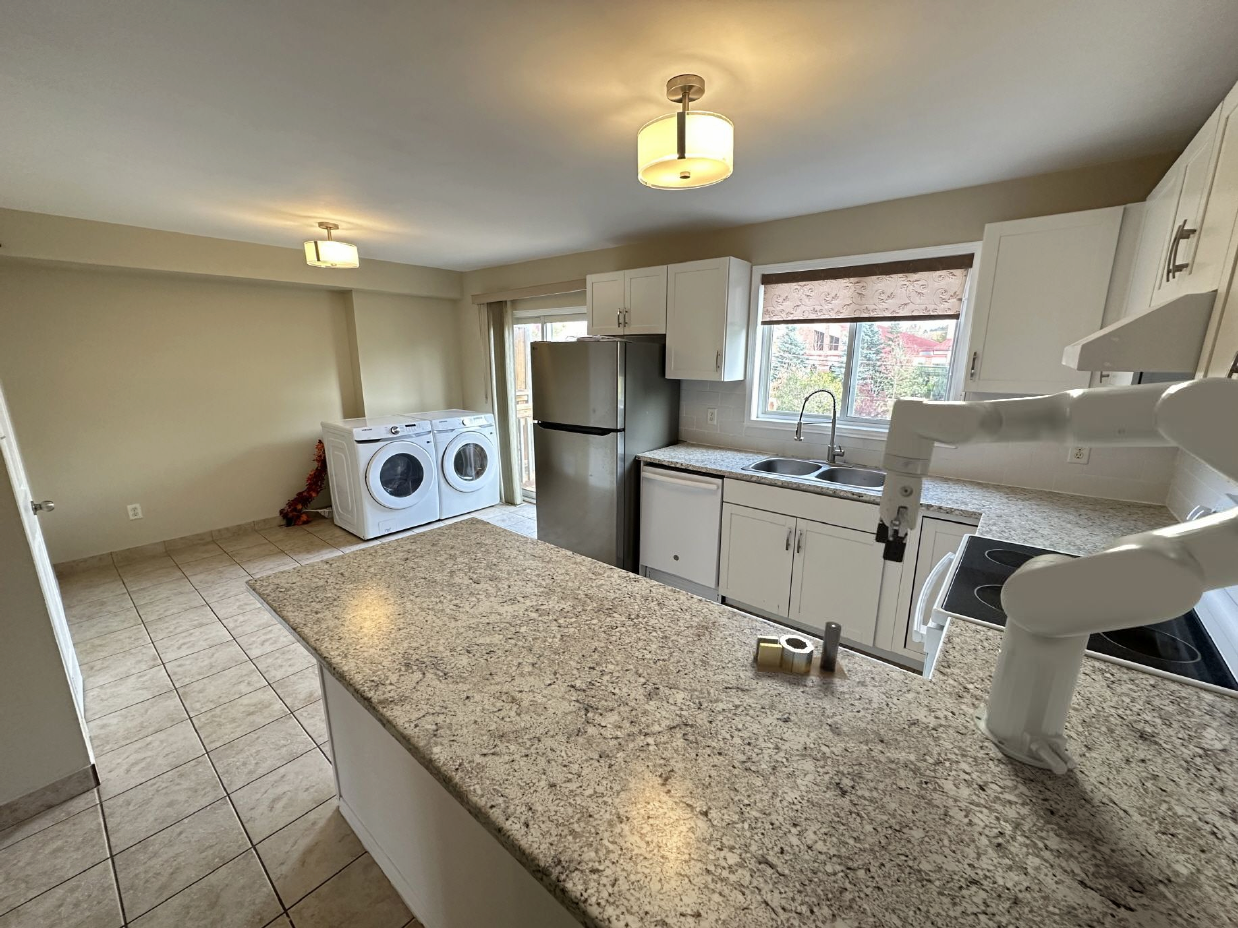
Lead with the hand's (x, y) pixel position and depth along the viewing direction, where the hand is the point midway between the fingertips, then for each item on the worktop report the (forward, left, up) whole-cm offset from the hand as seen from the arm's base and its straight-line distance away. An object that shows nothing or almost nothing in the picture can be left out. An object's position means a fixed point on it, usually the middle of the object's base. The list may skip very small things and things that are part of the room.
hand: (887, 551), depth 92 cm
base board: (-3, +15, -24) cm, 29 cm away
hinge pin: (-4, +9, -24) cm, 26 cm away
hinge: (-3, +18, -23) cm, 30 cm away
